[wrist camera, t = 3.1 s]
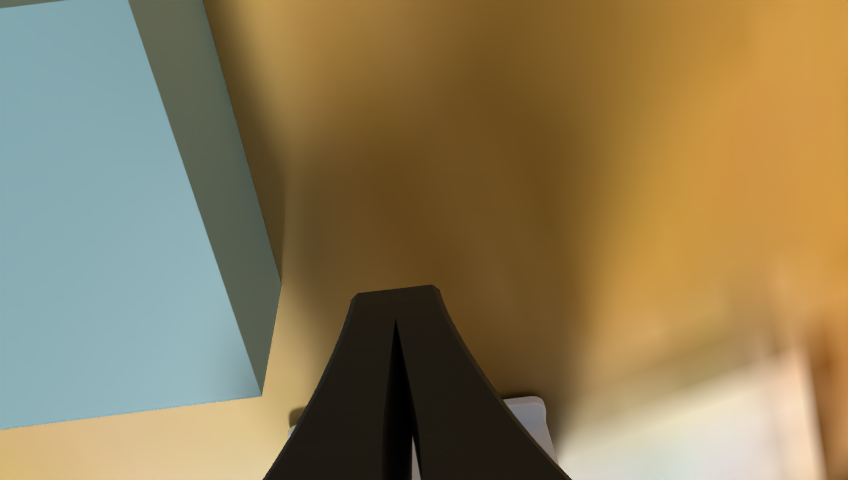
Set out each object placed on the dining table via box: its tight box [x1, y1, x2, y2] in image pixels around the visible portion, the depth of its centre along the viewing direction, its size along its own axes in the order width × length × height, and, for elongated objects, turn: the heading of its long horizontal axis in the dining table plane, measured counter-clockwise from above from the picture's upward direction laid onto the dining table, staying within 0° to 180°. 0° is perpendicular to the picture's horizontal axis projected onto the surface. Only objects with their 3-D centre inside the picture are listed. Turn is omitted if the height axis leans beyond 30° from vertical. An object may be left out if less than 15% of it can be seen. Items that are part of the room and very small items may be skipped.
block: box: [0, 0, 281, 430], centre depth 16 cm, size 8×10×5 cm
